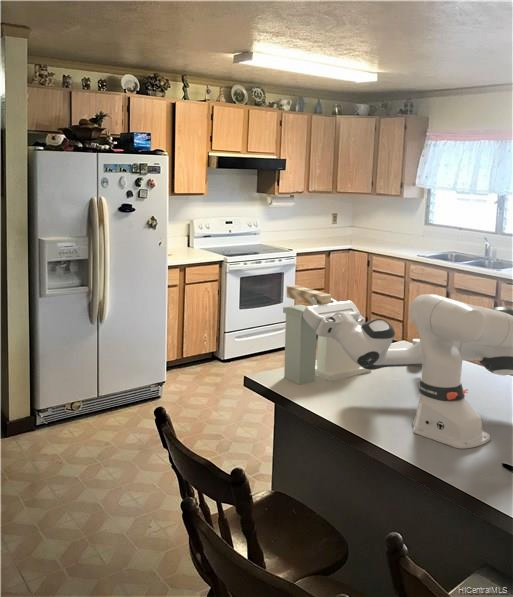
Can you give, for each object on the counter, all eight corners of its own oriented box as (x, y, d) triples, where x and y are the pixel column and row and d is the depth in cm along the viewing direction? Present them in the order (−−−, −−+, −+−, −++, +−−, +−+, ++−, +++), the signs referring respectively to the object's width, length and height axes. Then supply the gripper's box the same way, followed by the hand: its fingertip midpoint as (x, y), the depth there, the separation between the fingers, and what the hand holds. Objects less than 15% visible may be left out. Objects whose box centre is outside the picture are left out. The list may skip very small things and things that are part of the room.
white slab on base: (370, 371, 239) (373, 320, 235) (329, 381, 229) (331, 326, 224) (349, 363, 249) (351, 313, 245) (308, 371, 238) (310, 319, 234)
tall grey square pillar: (317, 381, 228) (320, 310, 222) (299, 385, 223) (301, 313, 218) (299, 373, 237) (301, 304, 231) (281, 376, 232) (283, 307, 227)
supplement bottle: (407, 364, 248) (408, 340, 246) (410, 361, 253) (412, 337, 251) (421, 367, 246) (422, 342, 244) (424, 363, 251) (426, 339, 249)
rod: (330, 306, 214) (331, 294, 213) (321, 307, 212) (322, 296, 211) (295, 295, 230) (295, 284, 230) (286, 297, 228) (286, 286, 227)
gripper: (369, 314, 211) (346, 287, 219) (320, 322, 200) (298, 293, 208) (362, 328, 215) (339, 301, 223) (314, 336, 204) (292, 308, 212)
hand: (319, 297), depth 215 cm, fingers closed on rod, 4 cm apart
